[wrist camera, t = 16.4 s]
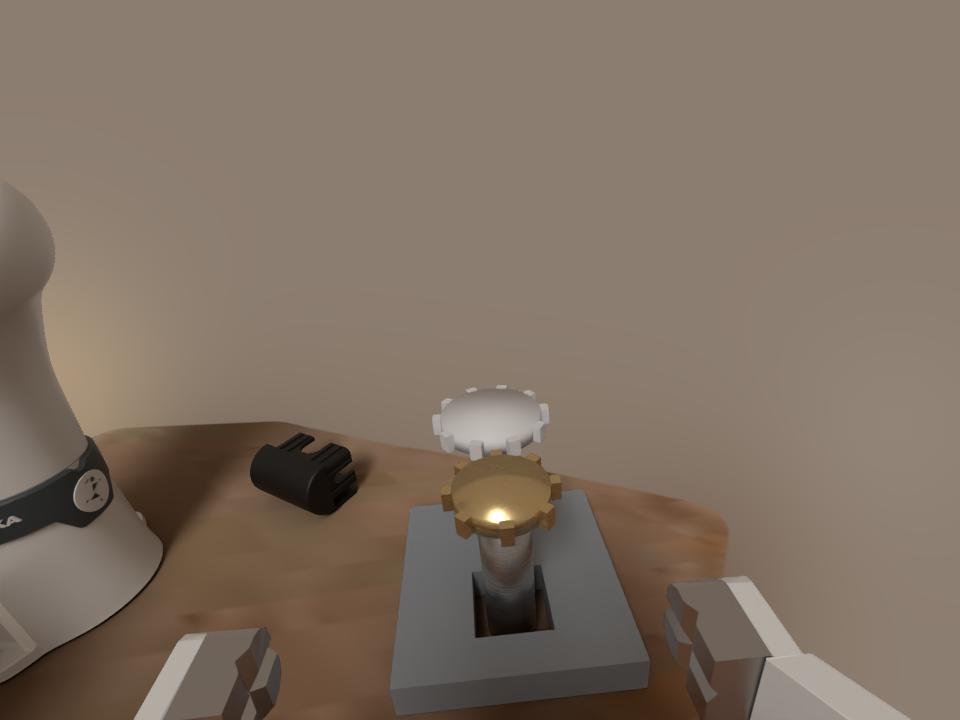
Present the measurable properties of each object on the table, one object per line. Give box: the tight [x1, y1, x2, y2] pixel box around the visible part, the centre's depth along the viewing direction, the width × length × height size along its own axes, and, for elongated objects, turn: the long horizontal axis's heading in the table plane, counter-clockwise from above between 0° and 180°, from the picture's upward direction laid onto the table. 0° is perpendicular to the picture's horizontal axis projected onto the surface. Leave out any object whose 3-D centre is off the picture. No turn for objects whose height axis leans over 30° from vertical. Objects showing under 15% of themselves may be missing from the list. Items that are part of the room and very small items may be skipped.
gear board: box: [389, 385, 650, 716], centre depth 40 cm, size 18×21×14 cm
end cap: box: [250, 433, 357, 515], centre depth 54 cm, size 10×7×7 cm
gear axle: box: [441, 449, 562, 636], centre depth 36 cm, size 8×8×14 cm
